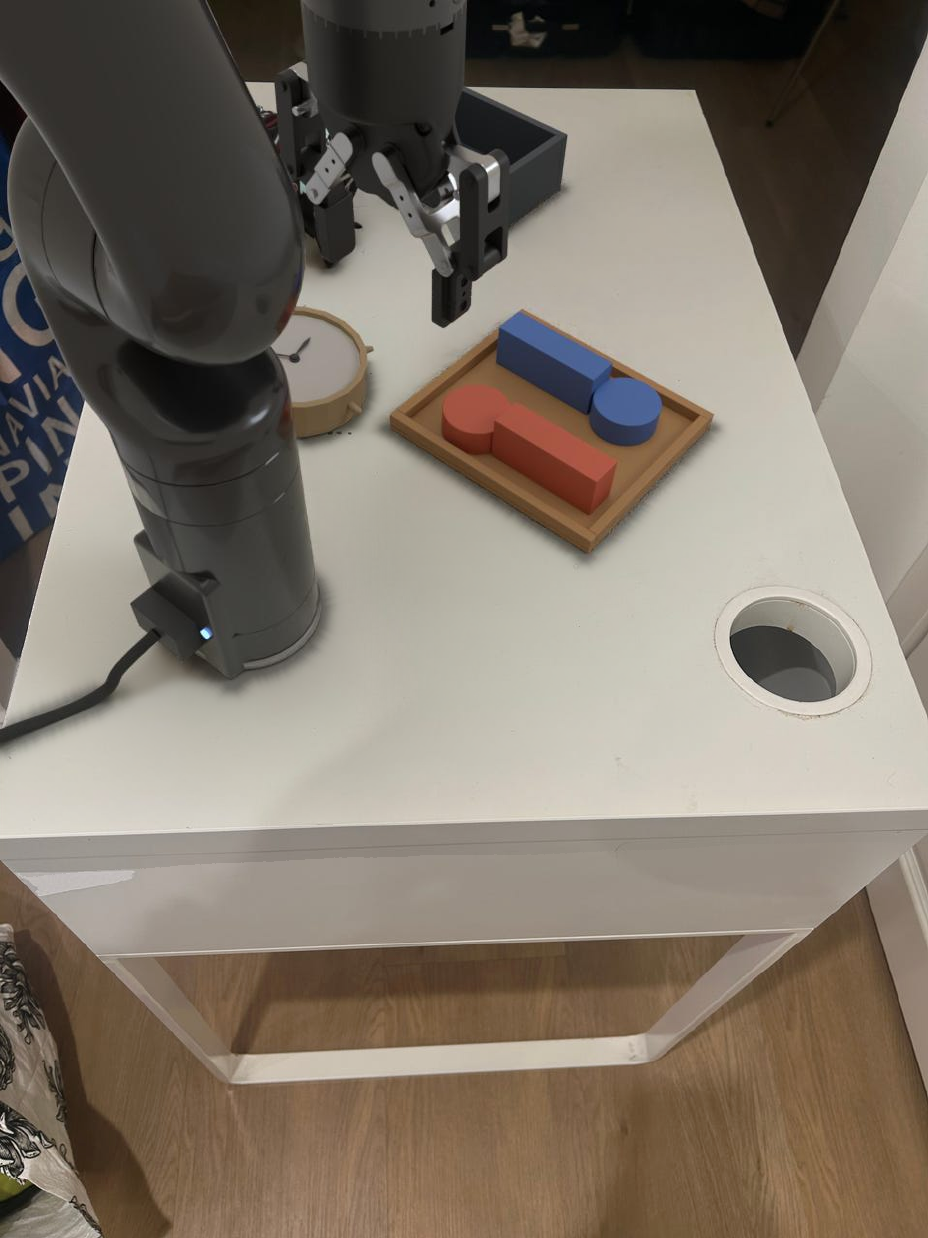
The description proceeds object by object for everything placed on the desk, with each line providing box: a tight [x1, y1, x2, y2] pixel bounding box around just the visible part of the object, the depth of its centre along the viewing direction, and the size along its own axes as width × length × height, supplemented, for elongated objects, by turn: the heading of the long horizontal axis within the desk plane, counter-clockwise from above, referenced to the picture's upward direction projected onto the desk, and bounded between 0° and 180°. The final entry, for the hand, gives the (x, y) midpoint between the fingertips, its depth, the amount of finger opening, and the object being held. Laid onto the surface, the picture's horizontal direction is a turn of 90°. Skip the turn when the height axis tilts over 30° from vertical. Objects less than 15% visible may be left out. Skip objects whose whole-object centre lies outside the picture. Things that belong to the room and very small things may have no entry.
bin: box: [421, 85, 569, 228], centre depth 91 cm, size 11×18×5 cm, turn 51°
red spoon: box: [442, 385, 617, 515], centre depth 71 cm, size 5×14×4 cm, turn 51°
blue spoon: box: [496, 310, 662, 446], centre depth 75 cm, size 5×14×4 cm, turn 51°
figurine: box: [256, 105, 363, 269], centre depth 83 cm, size 10×15×14 cm
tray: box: [389, 308, 715, 554], centre depth 75 cm, size 17×19×1 cm
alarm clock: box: [271, 305, 375, 438], centre depth 75 cm, size 11×5×15 cm
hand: (392, 286), depth 57 cm, fingers open, 8 cm apart
